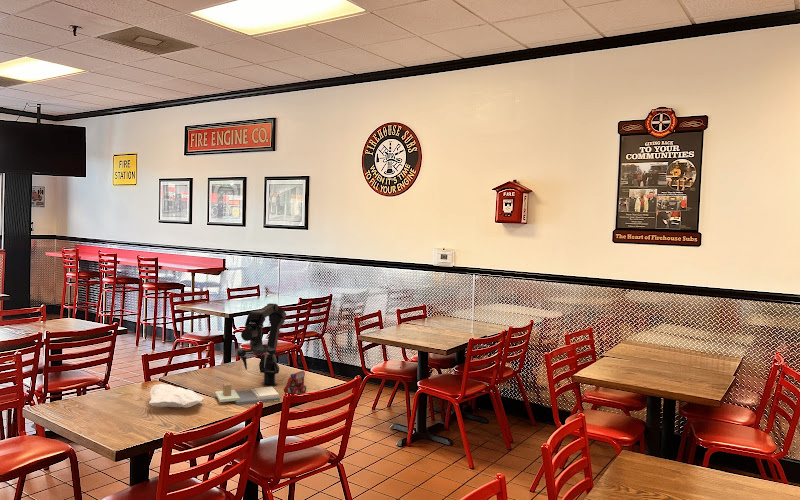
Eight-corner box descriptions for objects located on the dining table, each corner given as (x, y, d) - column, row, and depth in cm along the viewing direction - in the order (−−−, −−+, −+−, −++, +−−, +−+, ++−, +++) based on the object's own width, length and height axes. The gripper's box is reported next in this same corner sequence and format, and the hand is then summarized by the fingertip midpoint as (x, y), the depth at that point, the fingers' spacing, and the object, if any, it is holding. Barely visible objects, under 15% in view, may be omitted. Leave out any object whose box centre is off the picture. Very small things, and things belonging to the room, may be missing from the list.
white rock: (167, 418, 260) (170, 396, 260) (127, 400, 282) (130, 380, 283) (215, 414, 277) (218, 394, 278) (174, 397, 300) (177, 378, 301)
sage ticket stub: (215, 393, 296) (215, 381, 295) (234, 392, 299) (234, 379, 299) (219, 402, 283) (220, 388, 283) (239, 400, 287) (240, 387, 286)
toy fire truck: (280, 395, 303) (281, 374, 302) (298, 389, 313) (298, 369, 313) (291, 397, 299) (292, 376, 298) (308, 391, 309) (309, 371, 309)
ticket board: (229, 394, 301) (230, 388, 300) (270, 390, 309) (271, 385, 309) (236, 405, 284) (236, 399, 284) (279, 400, 293) (279, 394, 293)
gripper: (239, 341, 292) (239, 374, 293) (278, 339, 300) (278, 371, 301) (235, 337, 302) (235, 368, 303) (273, 335, 310) (273, 365, 311)
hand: (255, 368), depth 304 cm, fingers open, 9 cm apart
